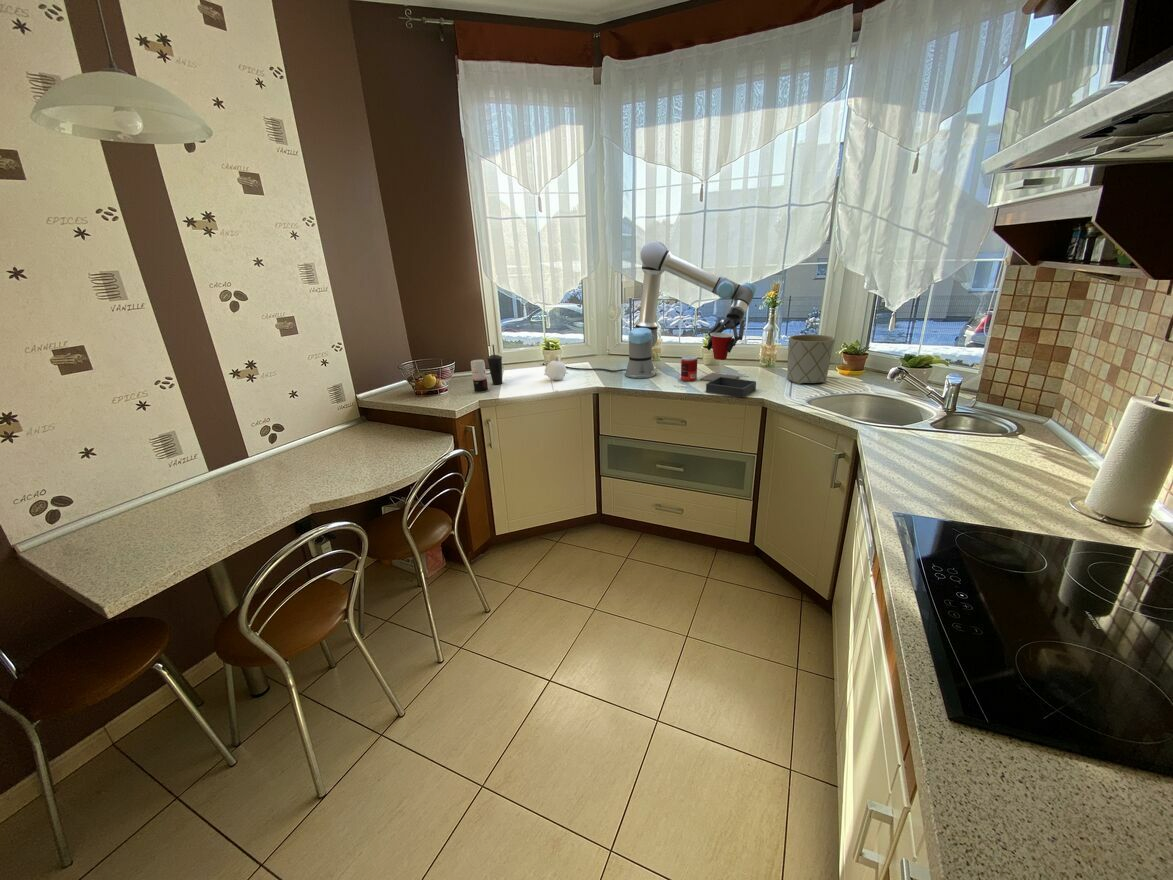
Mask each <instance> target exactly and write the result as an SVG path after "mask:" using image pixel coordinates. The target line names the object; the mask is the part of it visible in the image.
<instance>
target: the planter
mask: <svg viewBox="0 0 1173 880" xmlns="http://www.w3.org/2000/svg"><path fill="white" fill-rule="evenodd" d="M835 340H836V338H835V337H833V336H829V335H826V334H825V335H824V334H795V335H791V336H789V337H788V346H787V367H786V369H787V371H786V372H787V373H786V378H787V380H789V381H791V382H793V383H794V384H796V385H801V384H816V383H817V384H818V383H822V384H825V383H826V381H827V379H828V374H829V369H830V364H831V360H832V355H833V350H834V346H835Z"/></svg>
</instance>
